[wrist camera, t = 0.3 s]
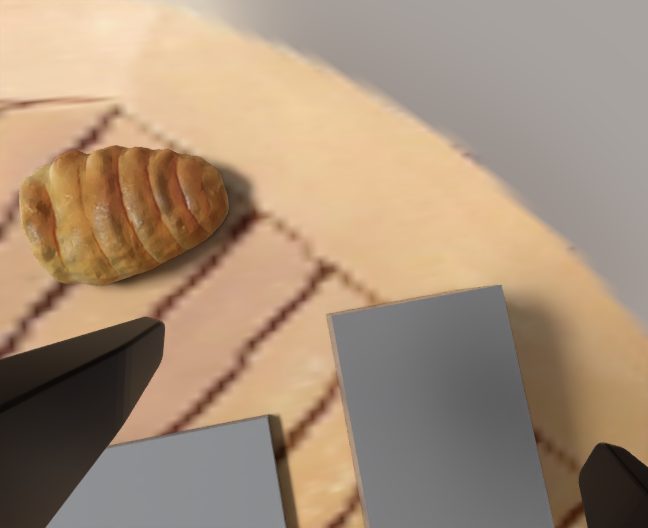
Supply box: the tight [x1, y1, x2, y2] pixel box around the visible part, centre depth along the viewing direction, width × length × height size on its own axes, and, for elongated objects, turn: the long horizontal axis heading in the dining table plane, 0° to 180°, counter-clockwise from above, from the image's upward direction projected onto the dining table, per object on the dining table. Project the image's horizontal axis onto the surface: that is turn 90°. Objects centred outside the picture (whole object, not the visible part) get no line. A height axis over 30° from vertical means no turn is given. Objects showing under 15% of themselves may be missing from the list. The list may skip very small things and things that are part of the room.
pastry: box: [19, 145, 229, 286], centre depth 22 cm, size 9×7×4 cm
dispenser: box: [326, 285, 555, 528], centre depth 20 cm, size 12×8×6 cm, turn 10°
